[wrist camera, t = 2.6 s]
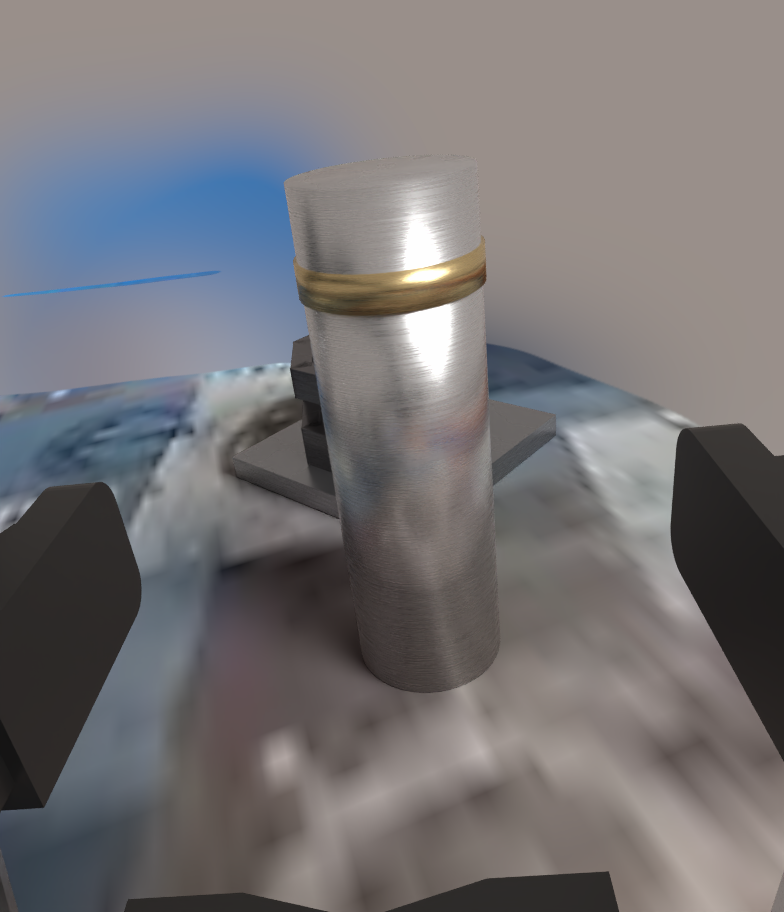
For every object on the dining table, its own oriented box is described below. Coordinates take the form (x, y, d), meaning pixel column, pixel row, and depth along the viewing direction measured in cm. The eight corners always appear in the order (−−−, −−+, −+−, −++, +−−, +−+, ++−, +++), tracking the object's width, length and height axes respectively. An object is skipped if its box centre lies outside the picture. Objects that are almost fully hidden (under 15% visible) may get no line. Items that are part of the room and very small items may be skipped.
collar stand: (236, 476, 39) (210, 365, 36) (385, 392, 47) (373, 294, 44) (413, 548, 32) (398, 415, 29) (555, 435, 39) (555, 320, 36)
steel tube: (328, 653, 27) (238, 188, 19) (418, 577, 30) (372, 155, 22) (444, 719, 24) (391, 192, 16) (530, 626, 27) (520, 153, 19)
